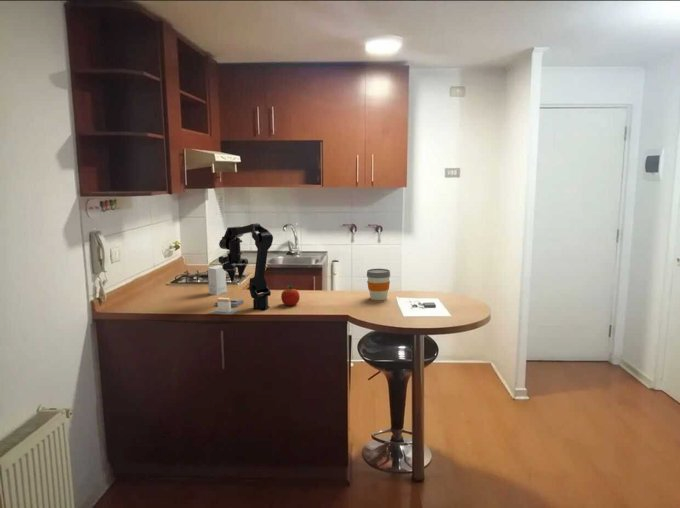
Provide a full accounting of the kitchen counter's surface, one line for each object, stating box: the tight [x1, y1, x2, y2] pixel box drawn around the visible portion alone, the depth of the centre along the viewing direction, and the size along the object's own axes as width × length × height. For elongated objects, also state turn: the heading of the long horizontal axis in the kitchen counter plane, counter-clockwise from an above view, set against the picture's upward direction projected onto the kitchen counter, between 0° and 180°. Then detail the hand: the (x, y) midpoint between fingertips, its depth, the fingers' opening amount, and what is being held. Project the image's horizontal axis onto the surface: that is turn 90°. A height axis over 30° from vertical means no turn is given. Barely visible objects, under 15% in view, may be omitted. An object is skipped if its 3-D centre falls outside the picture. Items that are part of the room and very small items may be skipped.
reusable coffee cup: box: [366, 268, 391, 301], centre depth 269 cm, size 13×13×15 cm
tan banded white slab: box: [217, 297, 232, 312], centre depth 247 cm, size 6×2×6 cm, turn 75°
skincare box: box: [207, 264, 228, 296], centre depth 287 cm, size 8×7×16 cm
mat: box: [209, 308, 240, 316], centre depth 248 cm, size 12×8×1 cm, turn 75°
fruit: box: [280, 285, 300, 307], centre depth 259 cm, size 10×10×10 cm
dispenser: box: [215, 299, 245, 308], centre depth 261 cm, size 12×8×2 cm, turn 75°
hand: (236, 279), depth 266 cm, fingers open, 9 cm apart
